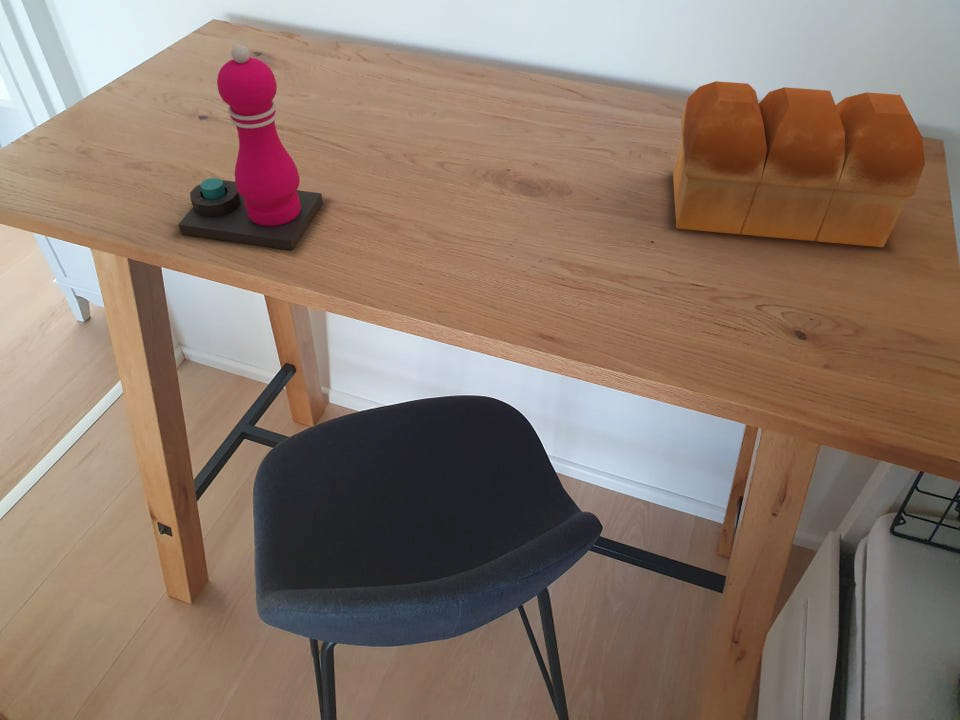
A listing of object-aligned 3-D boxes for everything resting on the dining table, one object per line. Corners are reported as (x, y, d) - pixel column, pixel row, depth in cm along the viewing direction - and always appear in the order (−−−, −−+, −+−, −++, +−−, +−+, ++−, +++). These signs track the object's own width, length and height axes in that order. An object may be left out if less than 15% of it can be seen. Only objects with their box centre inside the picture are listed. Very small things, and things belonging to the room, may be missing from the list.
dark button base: (179, 233, 91) (172, 212, 89) (217, 188, 98) (211, 167, 95) (292, 250, 89) (288, 229, 86) (323, 202, 96) (319, 181, 93)
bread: (672, 229, 92) (699, 115, 82) (669, 174, 101) (693, 64, 90) (888, 249, 90) (943, 134, 79) (865, 190, 99) (913, 80, 88)
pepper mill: (271, 188, 95) (237, 25, 81) (317, 206, 93) (289, 40, 78) (230, 217, 91) (186, 50, 76) (277, 236, 88) (240, 67, 74)
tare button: (199, 199, 91) (196, 188, 90) (209, 187, 93) (206, 176, 92) (219, 202, 91) (216, 191, 90) (229, 190, 93) (226, 179, 91)
